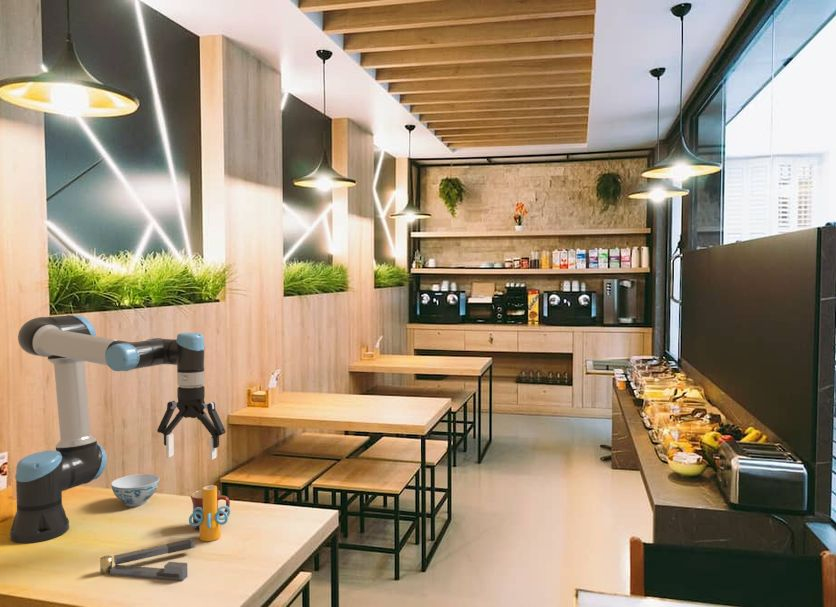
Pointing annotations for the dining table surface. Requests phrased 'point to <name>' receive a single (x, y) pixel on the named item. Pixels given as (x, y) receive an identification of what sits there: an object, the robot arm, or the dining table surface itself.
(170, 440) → the robot arm
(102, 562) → the tongs fixed
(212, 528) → the cylinder
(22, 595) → the dining table surface
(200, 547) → the dining table surface
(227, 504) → the mug
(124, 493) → the chinaware
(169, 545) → the tongs arm
